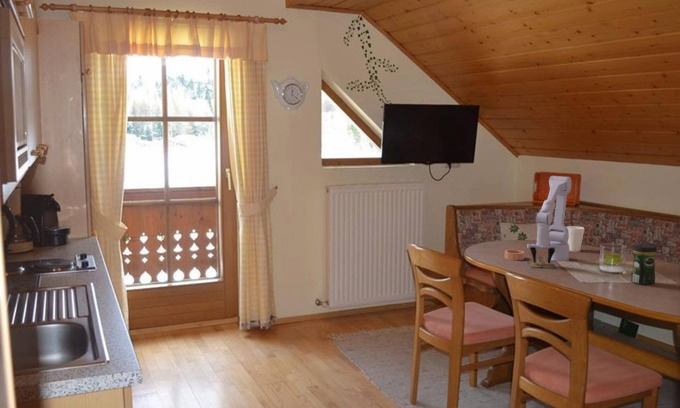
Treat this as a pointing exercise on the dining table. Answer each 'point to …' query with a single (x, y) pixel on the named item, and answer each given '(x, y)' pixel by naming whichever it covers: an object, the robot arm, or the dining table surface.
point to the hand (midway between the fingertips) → (541, 262)
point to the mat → (540, 268)
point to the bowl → (514, 255)
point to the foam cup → (575, 238)
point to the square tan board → (541, 263)
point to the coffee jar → (644, 263)
